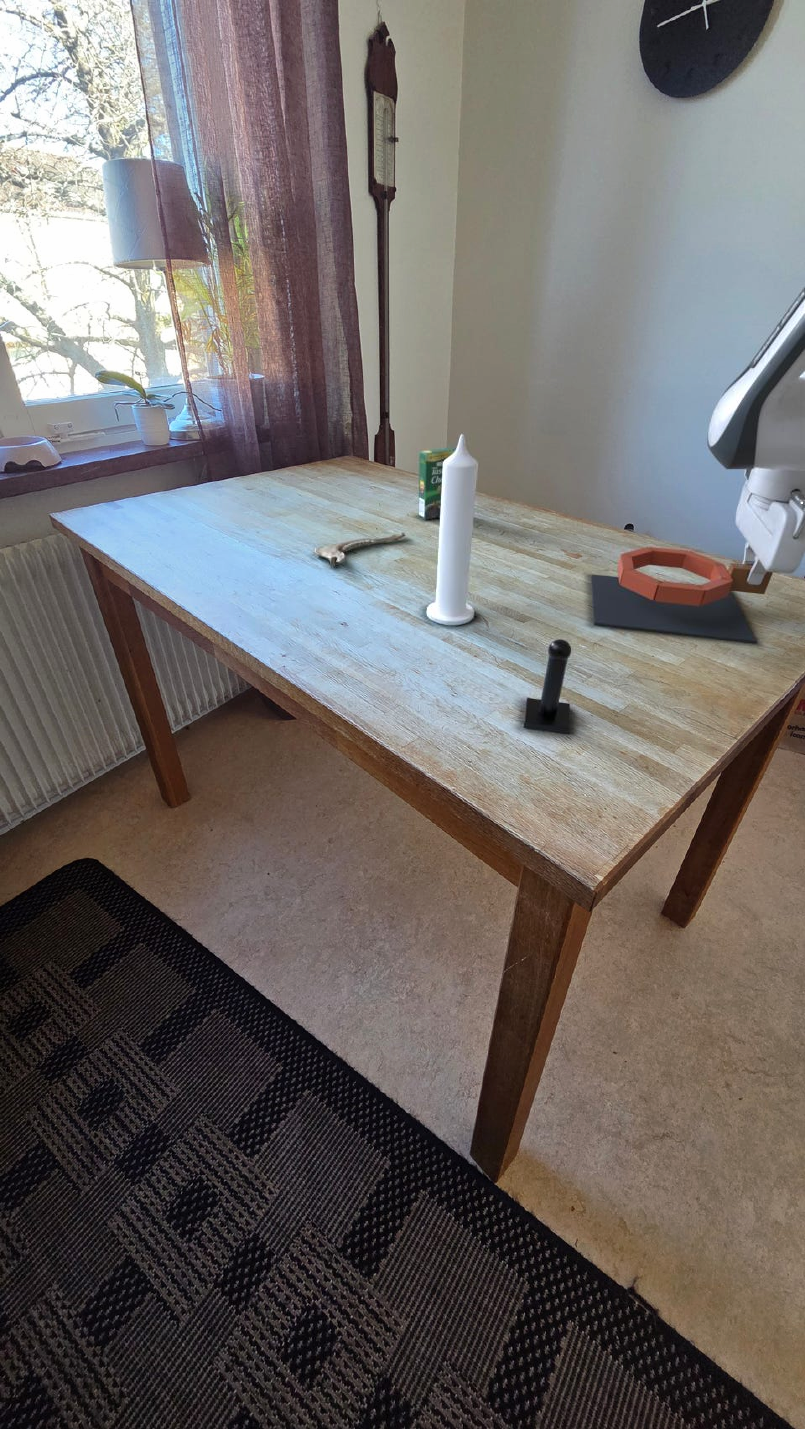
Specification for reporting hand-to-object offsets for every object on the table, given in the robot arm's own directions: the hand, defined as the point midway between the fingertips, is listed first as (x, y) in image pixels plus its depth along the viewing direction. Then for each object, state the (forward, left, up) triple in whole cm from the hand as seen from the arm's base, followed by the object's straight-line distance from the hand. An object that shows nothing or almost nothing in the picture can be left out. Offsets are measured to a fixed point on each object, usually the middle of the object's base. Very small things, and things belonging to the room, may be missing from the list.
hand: (749, 577), depth 88 cm
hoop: (+8, 0, -2) cm, 8 cm away
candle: (+42, +11, -6) cm, 44 cm away
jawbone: (+60, -9, -6) cm, 61 cm away
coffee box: (+52, -33, -6) cm, 62 cm away
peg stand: (+27, +34, -6) cm, 44 cm away
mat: (+10, 0, -6) cm, 12 cm away
